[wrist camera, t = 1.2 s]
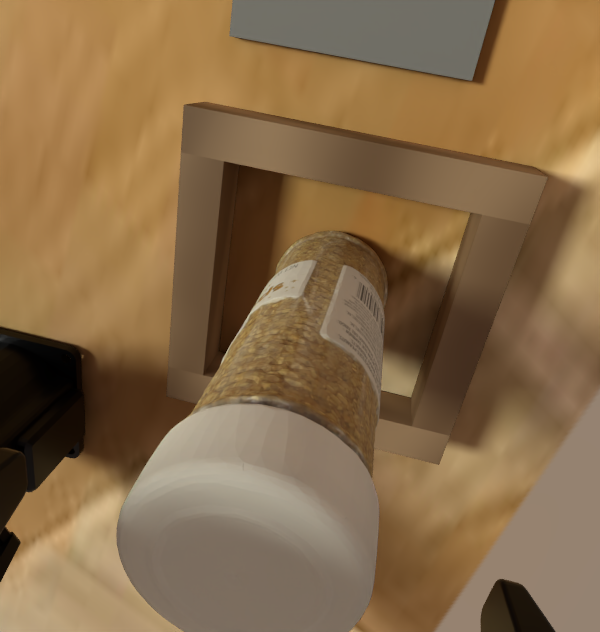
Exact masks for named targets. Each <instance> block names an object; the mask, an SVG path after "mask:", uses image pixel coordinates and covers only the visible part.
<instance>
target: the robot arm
mask: <svg viewBox="0 0 600 632" xmlns="http://www.w3.org/2000/svg"><path fill="white" fill-rule="evenodd" d="M66 355H68V356H69V357H70V358H71V359H69V358H68V357H67V356H66ZM84 434H85V410H84V394H83V392H82V377H81V356H80V353H79V351H78V350H77V349H76V348H74V347H72V346H69V345H65V344H61V343H57V342H53V341H49V340H45V339H41V338H37V337H33V336H29V335H25V334H20V333H16V332H12V331H8V330H4V329H0V582H1V580H2V578H3V576H4V574H5V572H6V570H7V568H8V566H9V564H10V562H11V561H12V559H13V557H14V555H15V553H16V551H17V549H18V547H19V545H20V540H19V539H18V538H17V537H16V535H15V534H14V533H13V532H9V531H8V529H7V528H6V527H5V526H6V524H7V522H8V521H9V519H10V518H11V516H12V514H13V513H14V511H15V510H16V508H17V506H18V505H19V503H20V502H21V500H22V498H23V497H24V495H25V493H26V492H32V491H34V490H36V489H37V488H38V487H39V486H40V485H41V484H42V482H43V481H44V480H45V479H46V478H47V477H48V476H49V474H50V473H51V472H52V471H53V470H54V469H55V468H56V466H57V465H58V464H59V463H60V462H61V461H62V460H63V458H64V457H69V458H77V457H78V456H79V455H80V453H81V452H82V451H83V448H84V444H83V436H84ZM481 632H555V630H554V629H553V627H552V626H551V624H550V623H549V622H548V620H547V619H546V617H545V616H544V614H543V613H542V611H541V610H540V609H539V607H538V606H537V604H536V603H535V601H534V600H533V598H532V597H531V595H530V594H529V593H528V591H527V590H526V589H525V587H524V586H523V585H521V584H519V583H516V582H512V581H508V580H504V579H499V580H497V581H496V583H495V584H494V586H493V588H492V590H491V592H490V594H489V596H488V598H487V600H486V602H485V604H484V606H483V609H482V613H481Z"/></svg>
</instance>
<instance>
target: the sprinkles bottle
mask: <svg viewBox="0 0 600 632" xmlns="http://www.w3.org/2000/svg"><path fill="white" fill-rule="evenodd" d="M387 296H388V281H387V275H386V270H385V268H384V265H383V264H382V262H381V260H380V258H379V257H378V255H377V254H376V253H375V251H374V250H373V249H371V248H370V247H369V246H368V245H367V244H366V243H364V242H362V241H361V240H360V239H358V238H355V237H353V236H351V235H348V234H346V233H343V232H340V231H323V232H317V233H315V234H313V235H308V236H306V237H304V238H301V239H299V240H298V241H296V242H295V243H294V244H293V245H292V246H291V247H290V248H289V249H288V250H287V251H286V252H285V253H284V255H283V256H282V258H281V259H280V261H279V263H278V265H277V267H276V273H275V275H274V277H273V278H272V279H271V280H270V281H269V282H268V284H267V285H266V287H265V288H264V290H263V291H262V293H261V295H260V297H259V298H258V300H257V302H256V303H255V305H254V307H253V308H252V310H251V312H250V314H249V315H248V317H247V319H246V320H245V322H244V324H243V325H242V327H241V328H240V330H239V332H238V333H237V335H236V337H235V338H234V340H233V341H232V343H231V345H230V346H229V348H228V350H227V352H226V354H225V356H224V357H223V360H222V362H221V365H220V367H219V369H218V371H217V372H216V374H215V376H214V377H213V378H212V380H211V381H210V383H209V385H208V386H207V388H206V389H205V391H204V393H203V395H202V397H201V398H200V400H199V401H198V403H197V405H196V406H195V408H194V409H193V411H192V413H191V414H190V415H189V416H187V417H186V419H184V420H183V421H181V422H180V423H178V424H177V425H176V426H175V427H173V428H172V429H171V430H170V431H169V433H168V434H167V435H166V436H165V437H164V438H163V440H162V441H161V442H160V444H159V445H158V447H157V449H156V450H155V452H154V453H153V455H152V456H151V458H150V459H149V461H148V462H147V464H146V465H145V467H144V469H143V470H142V472H141V474H140V475H139V477H138V479H137V480H136V482H135V484H134V486H133V487H132V489H131V491H130V492H129V494H128V496H127V498H126V500H125V502H124V504H123V506H122V508H121V511H120V515H119V520H118V524H117V547H118V551H119V555H120V559H121V562H122V565H123V567H124V570H125V572H126V574H127V576H128V577H129V579H130V581H131V583H132V584H133V586H134V587H135V589H136V590H137V591H138V592H139V594H140V595H141V596H142V597H143V598H144V599H145V600H146V602H147V603H148V604H149V605H150V606H151V607H152V608H153V609H154V610H155V611H157V612H158V613H159V614H160V615H161V616H162V617H164V618H165V619H166V620H168V621H169V622H171V623H172V624H173V625H175V626H176V627H178V628H179V629H181V630H183V631H185V632H349V631H350V630H351V629H352V628H353V627H354V626H355V625H356V623H357V622H358V621H359V620H360V619H361V617H362V615H363V614H364V612H365V610H366V608H367V607H368V605H369V602H370V599H371V596H372V591H373V585H374V579H375V569H376V558H377V545H378V531H379V502H378V497H377V493H376V489H375V486H374V483H373V481H372V472H373V453H374V442H375V430H376V427H377V424H378V421H379V411H380V395H381V378H382V361H383V343H384V324H385V317H384V307H385V304H386V301H387Z"/></svg>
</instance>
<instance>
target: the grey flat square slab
mask: <svg viewBox="0 0 600 632" xmlns="http://www.w3.org/2000/svg"><path fill="white" fill-rule="evenodd" d="M494 3H495V0H233V3H232V14H231V25H230V36H232V37H237V38H243V39H248V40H253V41H259V42H264V43H270V44H275V45H280V46H286V47H291V48H296V49H302V50H307V51H313V52H318V53H323V54H329V55H334V56H340V57H345V58H350V59H356V60H361V61H367V62H372V63H377V64H383V65H388V66H394V67H399V68H404V69H410V70H415V71H420V72H426V73H431V74H437V75H442V76H447V77H453V78H458V79H464V80H469V81H472V79H473V75H474V72H475V68H476V65H477V61H478V58H479V55H480V51H481V48H482V44H483V41H484V37H485V34H486V30H487V27H488V23H489V20H490V16H491V13H492V10H493V6H494Z"/></svg>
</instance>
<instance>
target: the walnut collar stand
mask: <svg viewBox="0 0 600 632" xmlns="http://www.w3.org/2000/svg"><path fill="white" fill-rule="evenodd" d="M239 164H240V165H245V166H249V167H254V168H259V169H264V170H269V171H273V172H278V173H283V174H288V175H293V176H298V177H302V178H307V179H312V180H317V181H322V182H327V183H331V184H336V185H341V186H346V187H351V188H355V189H360V190H365V191H370V192H375V193H380V194H384V195H389V196H394V197H399V198H404V199H408V200H413V201H418V202H423V203H428V204H433V205H437V206H442V207H447V208H452V209H457V210H462V211H466V212H471V214H470V217H469V220H468V223H467V226H466V229H465V232H464V235H463V238H462V242H461V245H460V248H459V251H458V254H457V257H456V260H455V263H454V266H453V269H452V273H451V276H450V279H449V282H448V285H447V288H446V291H445V294H444V297H443V301H442V304H441V307H440V310H439V313H438V316H437V319H436V322H435V325H434V329H433V332H432V335H431V338H430V341H429V344H428V347H427V350H426V353H425V356H424V360H423V363H422V366H421V369H420V372H419V375H418V378H417V381H416V384H415V388H414V391H413V394H412V397H411V398H409V397H405V396H400V395H396V394H392V393H388V392H384V391H381V395H380V411H379V421H378V424H377V427H376V430H375V442H374V449H378V450H382V451H386V452H390V453H394V454H398V455H402V456H406V457H410V458H414V459H418V460H422V461H426V462H430V463H434V464H438V465H439V464H440V461H441V458H442V456H443V453H444V450H445V448H446V445H447V442H448V440H449V437H450V435H451V432H452V429H453V427H454V424H455V421H456V419H457V416H458V413H459V411H460V408H461V406H462V403H463V400H464V398H465V395H466V392H467V390H468V387H469V384H470V382H471V379H472V376H473V374H474V371H475V369H476V366H477V363H478V361H479V358H480V355H481V353H482V350H483V347H484V345H485V342H486V339H487V337H488V334H489V332H490V329H491V326H492V324H493V321H494V318H495V316H496V313H497V310H498V308H499V305H500V303H501V300H502V297H503V295H504V292H505V289H506V287H507V284H508V281H509V279H510V276H511V273H512V271H513V268H514V266H515V263H516V260H517V258H518V255H519V252H520V250H521V247H522V244H523V242H524V239H525V237H526V234H527V231H528V229H529V226H530V223H531V221H532V218H533V215H534V213H535V210H536V207H537V205H538V202H539V200H540V197H541V194H542V192H543V189H544V186H545V184H546V181H547V178H548V177H547V176H545V175H544V174H543V173H541V172H540V171H538V170H537V169H535V168H534V167H532V166H527V165H522V164H517V163H512V162H507V161H502V160H496V159H491V158H486V157H481V156H476V155H471V154H466V153H461V152H456V151H451V150H446V149H441V148H436V147H431V146H426V145H421V144H416V143H411V142H405V141H400V140H395V139H390V138H385V137H380V136H375V135H370V134H365V133H360V132H355V131H350V130H345V129H340V128H335V127H330V126H325V125H319V124H314V123H309V122H304V121H299V120H294V119H289V118H284V117H279V116H274V115H269V114H264V113H259V112H254V111H249V110H244V109H239V108H234V107H228V106H223V105H218V104H213V103H208V102H200V103H193V104H186V105H184V111H183V128H182V145H181V161H180V178H179V195H178V211H177V228H176V245H175V261H174V278H173V295H172V311H171V328H170V345H169V361H168V378H167V395H166V396H167V397H171V398H175V399H179V400H183V401H187V402H191V403H195V404H197V403H198V401H199V400H200V398H201V397H202V395H203V393H204V391H205V389H206V388H207V386H208V385H209V383H210V381H211V380H212V378H213V377H214V376H215V374H216V372H217V371H218V369H219V367H220V365H221V362H222V360H223V357H224V356H225V354H226V353H222V352H219V344H220V335H221V326H222V317H223V308H224V299H225V290H226V281H227V272H228V263H229V253H230V244H231V235H232V226H233V217H234V208H235V199H236V190H237V181H238V172H239Z"/></svg>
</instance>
